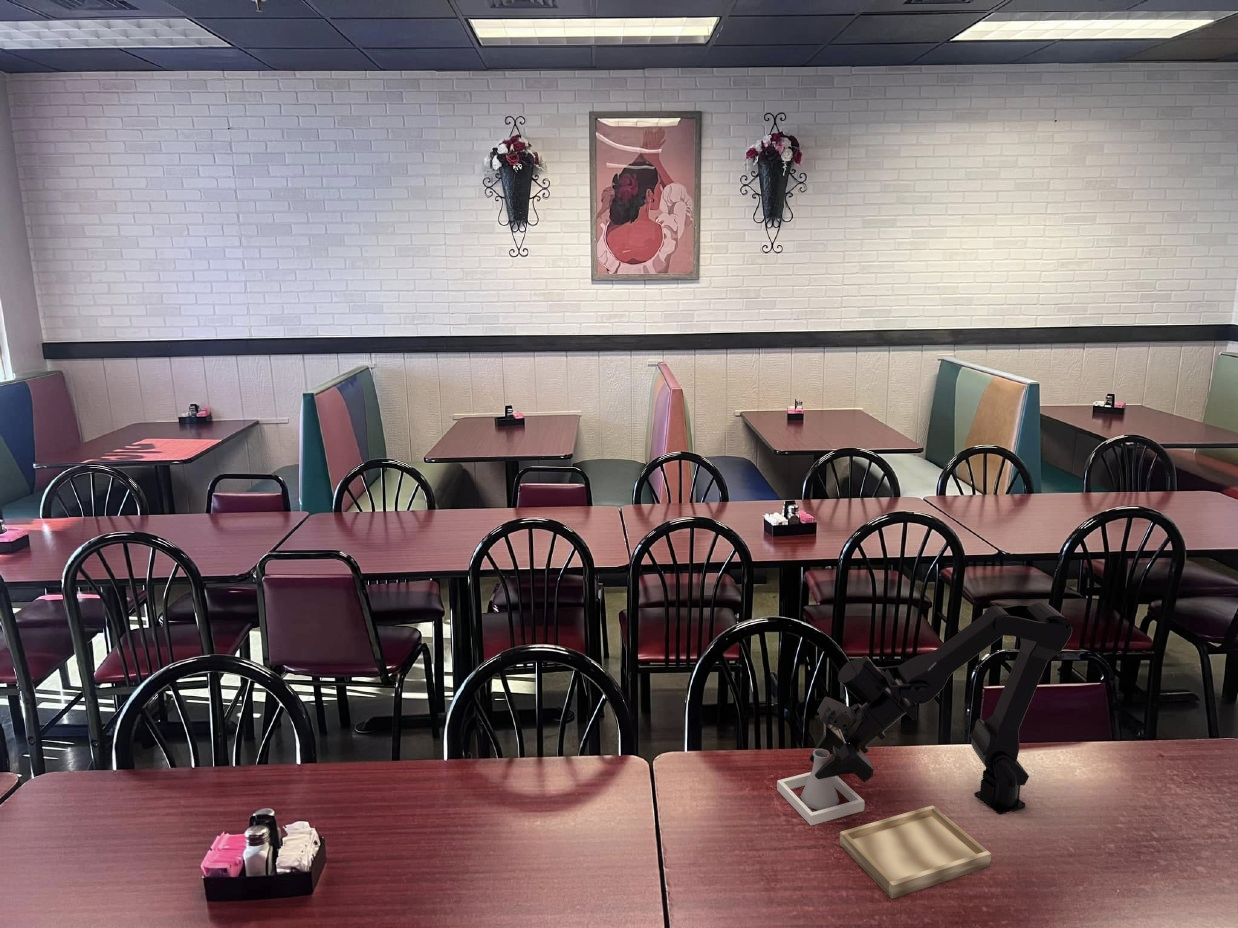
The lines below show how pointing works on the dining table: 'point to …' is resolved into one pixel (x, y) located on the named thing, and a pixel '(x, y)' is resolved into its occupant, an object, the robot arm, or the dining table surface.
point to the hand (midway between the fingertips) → (813, 768)
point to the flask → (819, 785)
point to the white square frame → (825, 814)
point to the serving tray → (914, 851)
